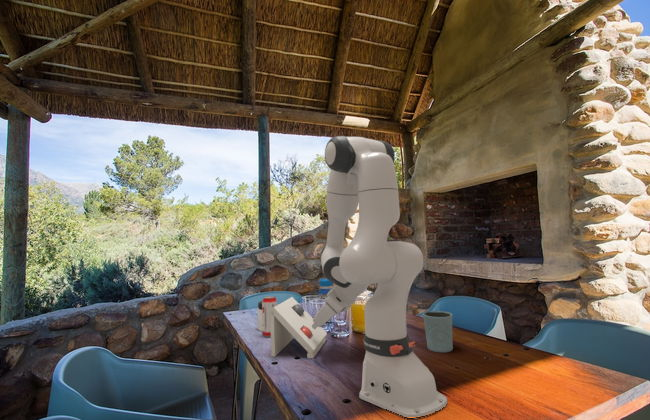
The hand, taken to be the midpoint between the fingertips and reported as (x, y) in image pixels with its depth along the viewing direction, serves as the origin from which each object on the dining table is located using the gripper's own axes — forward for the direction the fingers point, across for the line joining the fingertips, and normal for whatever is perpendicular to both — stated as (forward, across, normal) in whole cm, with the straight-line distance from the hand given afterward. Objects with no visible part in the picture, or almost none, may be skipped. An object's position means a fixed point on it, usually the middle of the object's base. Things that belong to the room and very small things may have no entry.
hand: (313, 327), depth 121 cm
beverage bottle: (+9, -43, +2) cm, 44 cm away
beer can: (+23, -18, -11) cm, 31 cm away
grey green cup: (-24, -10, +37) cm, 45 cm away
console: (+11, -5, +2) cm, 12 cm away
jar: (+26, -27, -15) cm, 41 cm away
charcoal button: (+5, -8, -7) cm, 12 cm away
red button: (+6, -1, +1) cm, 6 cm away
